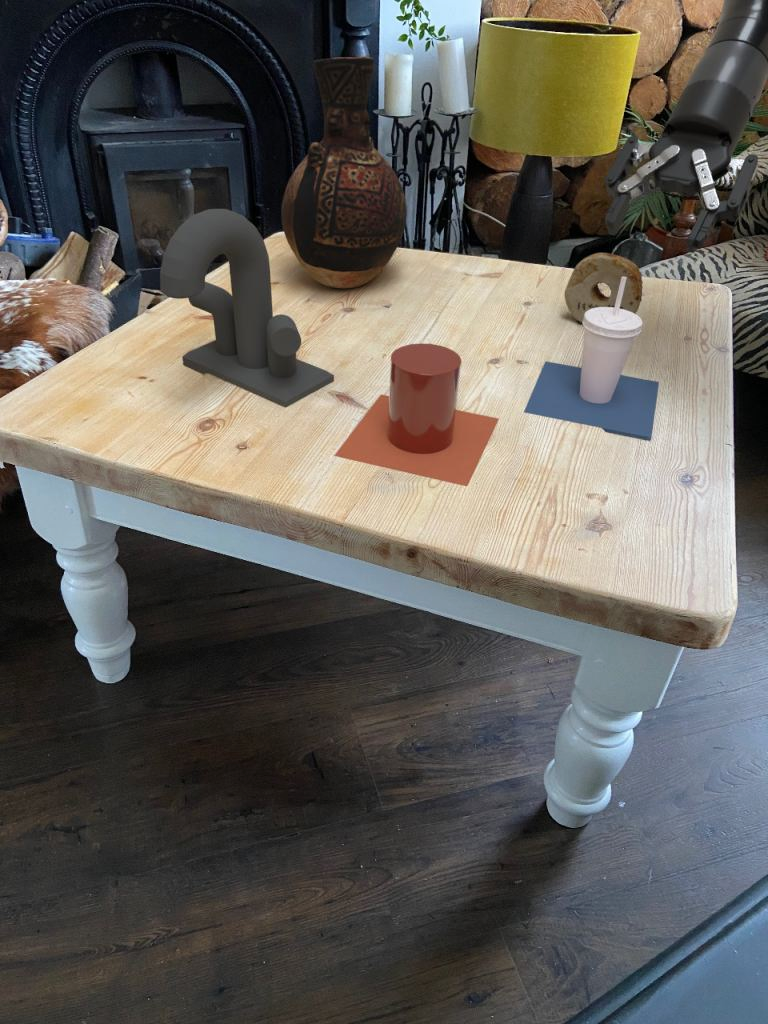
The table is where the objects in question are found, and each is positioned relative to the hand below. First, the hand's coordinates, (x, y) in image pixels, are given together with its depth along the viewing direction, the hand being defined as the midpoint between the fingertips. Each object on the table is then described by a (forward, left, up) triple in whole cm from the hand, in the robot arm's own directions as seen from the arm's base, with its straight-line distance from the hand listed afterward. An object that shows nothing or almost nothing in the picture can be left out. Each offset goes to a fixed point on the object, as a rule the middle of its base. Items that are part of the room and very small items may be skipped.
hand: (649, 239), depth 78 cm
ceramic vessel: (+21, -44, -18) cm, 52 cm away
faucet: (+43, -14, -18) cm, 48 cm away
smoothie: (+2, 0, -18) cm, 18 cm away
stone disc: (-9, -19, -18) cm, 28 cm away
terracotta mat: (+26, +3, -18) cm, 32 cm away
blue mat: (+3, 0, -18) cm, 18 cm away
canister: (+26, +3, -18) cm, 31 cm away
